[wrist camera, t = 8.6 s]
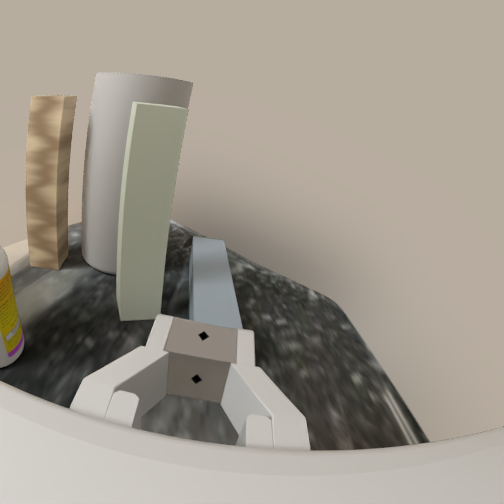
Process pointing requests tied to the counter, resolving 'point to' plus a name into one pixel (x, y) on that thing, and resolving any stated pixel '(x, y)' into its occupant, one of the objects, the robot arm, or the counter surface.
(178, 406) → the counter surface
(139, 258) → the post sage
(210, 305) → the post slate
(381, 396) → the counter surface
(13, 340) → the supplement bottle
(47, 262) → the post oak
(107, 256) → the cylinder vase
